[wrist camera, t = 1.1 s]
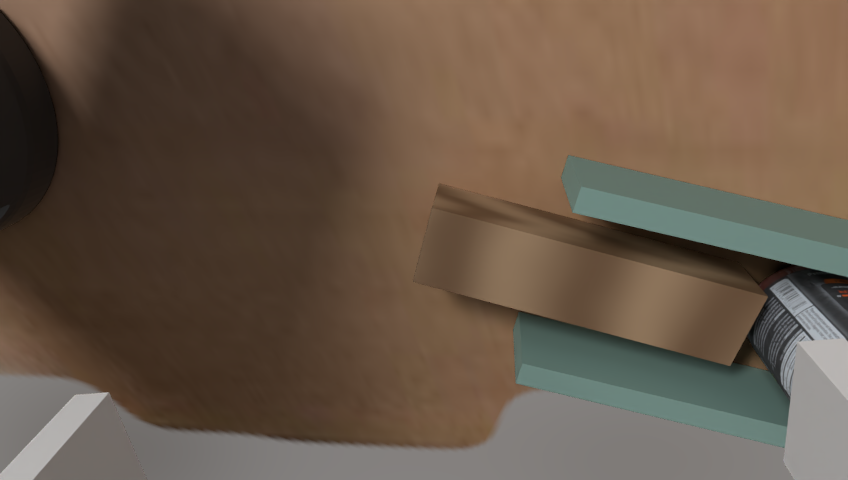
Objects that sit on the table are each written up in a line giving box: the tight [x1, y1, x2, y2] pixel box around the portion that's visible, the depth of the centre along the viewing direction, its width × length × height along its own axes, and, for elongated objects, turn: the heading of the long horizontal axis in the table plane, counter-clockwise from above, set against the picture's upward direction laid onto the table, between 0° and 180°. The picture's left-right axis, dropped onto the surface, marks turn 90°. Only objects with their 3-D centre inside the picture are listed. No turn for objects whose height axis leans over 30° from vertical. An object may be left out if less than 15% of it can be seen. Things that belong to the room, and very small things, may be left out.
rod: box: [413, 183, 768, 366], centre depth 30 cm, size 16×4×4 cm, turn 76°
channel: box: [513, 155, 848, 448], centre depth 30 cm, size 18×10×5 cm, turn 78°
